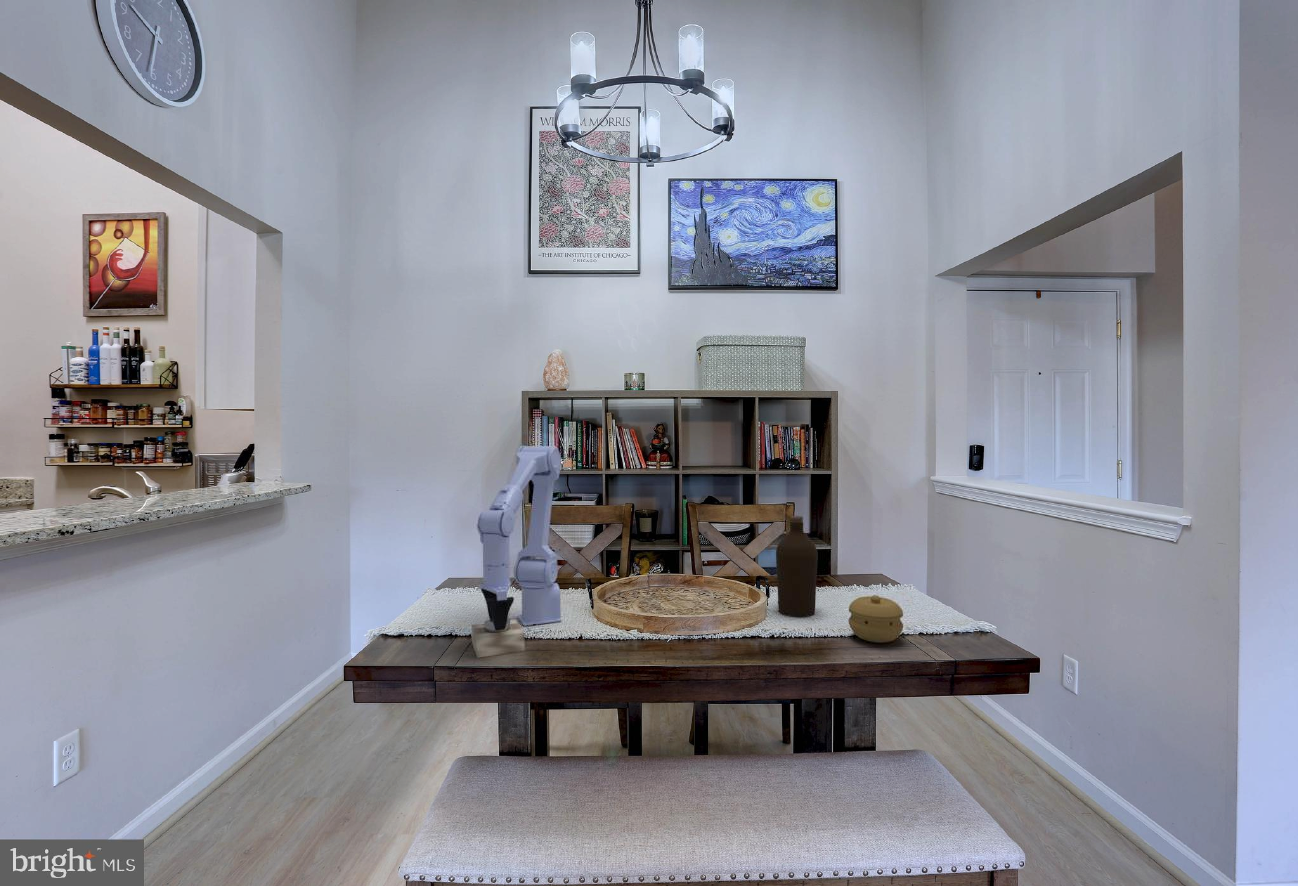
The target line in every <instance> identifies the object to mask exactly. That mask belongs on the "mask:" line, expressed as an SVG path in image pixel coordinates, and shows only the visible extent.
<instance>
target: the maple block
mask: <svg viewBox="0 0 1298 886" xmlns="http://www.w3.org/2000/svg"><path fill="white" fill-rule="evenodd" d="M509 620H510V629H509V630H507V631H505V632H500V633H488V632H486V631H484V623H476V624H471V644H472V646H473V650H474V652H475V655H476V658H484V657H492V656H499V655H505V654H511V653H517V652H518V653H519V652H525V646H526V645H525V631H524V630H523V628H522V626H521V625H520V624H519V622H518V620H517V619H516V618H515V619H509Z"/></svg>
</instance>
